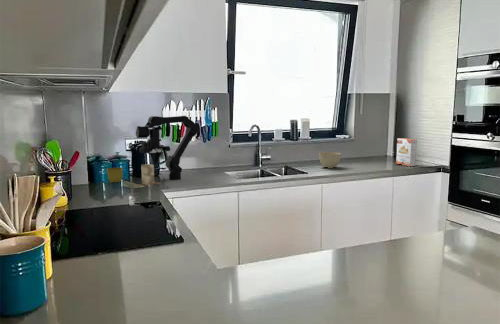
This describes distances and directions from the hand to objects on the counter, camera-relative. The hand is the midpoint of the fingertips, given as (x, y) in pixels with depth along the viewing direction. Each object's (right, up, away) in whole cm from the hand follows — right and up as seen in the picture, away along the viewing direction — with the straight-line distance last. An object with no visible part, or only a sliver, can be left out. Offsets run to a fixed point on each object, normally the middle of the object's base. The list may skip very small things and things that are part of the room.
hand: (155, 163), depth 230 cm
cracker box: (+176, -2, +68) cm, 189 cm away
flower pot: (-25, -12, +3) cm, 28 cm away
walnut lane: (-4, -13, -8) cm, 16 cm away
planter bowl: (+116, -3, +61) cm, 131 cm away
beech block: (-3, -11, -6) cm, 13 cm away
